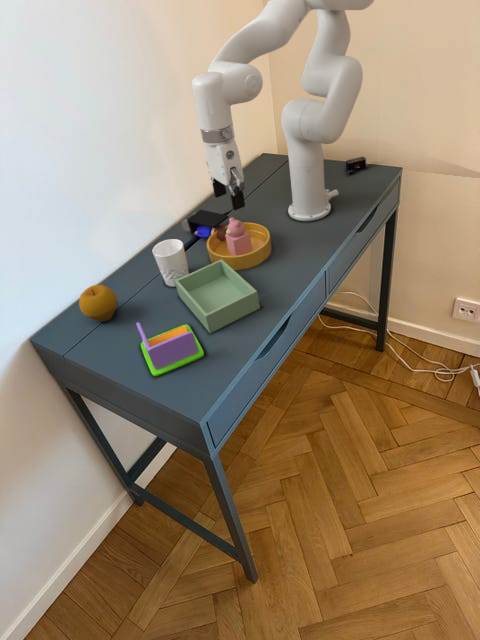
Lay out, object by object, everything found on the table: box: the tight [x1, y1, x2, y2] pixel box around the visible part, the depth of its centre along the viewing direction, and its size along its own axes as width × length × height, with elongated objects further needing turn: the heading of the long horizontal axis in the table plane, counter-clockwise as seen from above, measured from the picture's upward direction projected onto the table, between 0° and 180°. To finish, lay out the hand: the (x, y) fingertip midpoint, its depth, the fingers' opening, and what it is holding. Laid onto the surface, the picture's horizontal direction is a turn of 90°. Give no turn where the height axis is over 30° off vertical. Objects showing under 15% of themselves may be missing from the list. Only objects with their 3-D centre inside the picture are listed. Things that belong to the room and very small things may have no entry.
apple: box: [78, 284, 118, 322], centre depth 112 cm, size 9×9×9 cm
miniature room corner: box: [135, 321, 205, 377], centre depth 99 cm, size 12×12×7 cm
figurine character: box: [181, 209, 230, 241], centre depth 133 cm, size 7×8×15 cm
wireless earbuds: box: [345, 156, 367, 175], centre depth 152 cm, size 5×7×3 cm, turn 102°
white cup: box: [152, 238, 190, 288], centre depth 119 cm, size 8×8×10 cm
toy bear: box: [225, 216, 252, 256], centre depth 123 cm, size 5×5×10 cm
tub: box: [175, 259, 261, 334], centre depth 110 cm, size 13×17×5 cm
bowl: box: [206, 222, 273, 271], centre depth 125 cm, size 17×17×4 cm
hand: (229, 201), depth 116 cm, fingers open, 9 cm apart
